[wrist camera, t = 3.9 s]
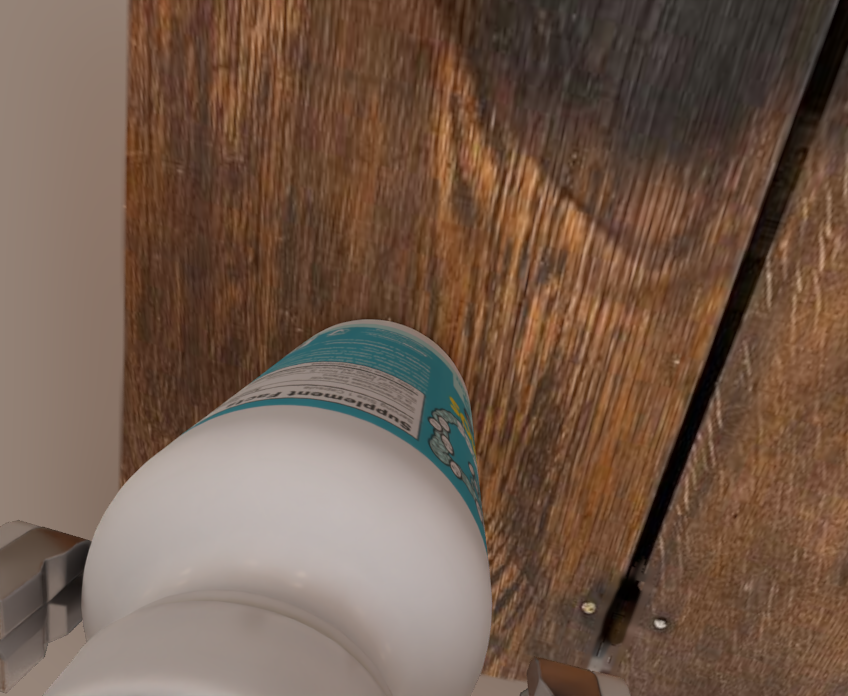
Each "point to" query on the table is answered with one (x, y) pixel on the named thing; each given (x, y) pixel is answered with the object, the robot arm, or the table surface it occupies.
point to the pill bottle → (300, 538)
